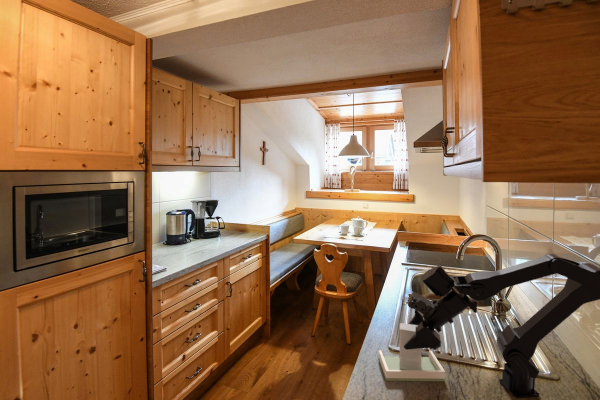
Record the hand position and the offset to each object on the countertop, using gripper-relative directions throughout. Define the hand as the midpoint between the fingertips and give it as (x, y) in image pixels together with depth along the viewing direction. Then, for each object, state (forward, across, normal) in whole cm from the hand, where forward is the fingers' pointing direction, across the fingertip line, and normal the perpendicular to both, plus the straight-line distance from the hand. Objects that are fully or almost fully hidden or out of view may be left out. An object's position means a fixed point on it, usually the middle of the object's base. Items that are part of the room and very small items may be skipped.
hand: (404, 339), depth 92 cm
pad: (+5, 0, +7) cm, 9 cm away
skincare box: (+5, 0, +7) cm, 8 cm away
